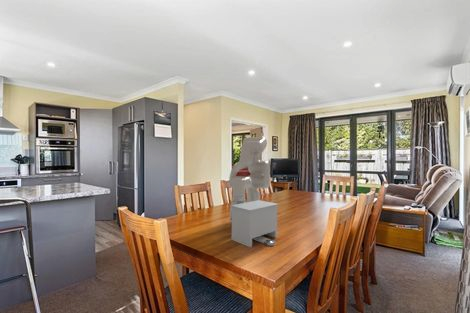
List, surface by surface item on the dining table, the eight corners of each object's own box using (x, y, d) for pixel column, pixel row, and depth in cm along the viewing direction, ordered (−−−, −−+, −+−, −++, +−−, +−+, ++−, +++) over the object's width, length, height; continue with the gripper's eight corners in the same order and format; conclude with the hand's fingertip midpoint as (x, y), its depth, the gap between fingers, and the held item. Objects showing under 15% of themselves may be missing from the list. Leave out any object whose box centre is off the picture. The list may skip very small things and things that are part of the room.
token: (269, 242, 124) (269, 239, 124) (277, 244, 121) (277, 241, 121) (263, 244, 121) (263, 241, 121) (270, 247, 117) (270, 244, 117)
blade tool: (239, 230, 142) (239, 215, 142) (269, 241, 125) (269, 224, 125) (233, 231, 139) (233, 216, 139) (263, 243, 121) (263, 226, 121)
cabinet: (258, 230, 143) (258, 200, 142) (278, 237, 131) (278, 203, 131) (230, 239, 127) (230, 205, 127) (249, 247, 116) (250, 210, 116)
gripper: (244, 196, 147) (244, 224, 148) (223, 199, 136) (223, 230, 136) (252, 197, 142) (252, 227, 142) (232, 201, 131) (232, 233, 131)
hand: (238, 228), depth 139 cm, fingers closed on blade tool, 4 cm apart
